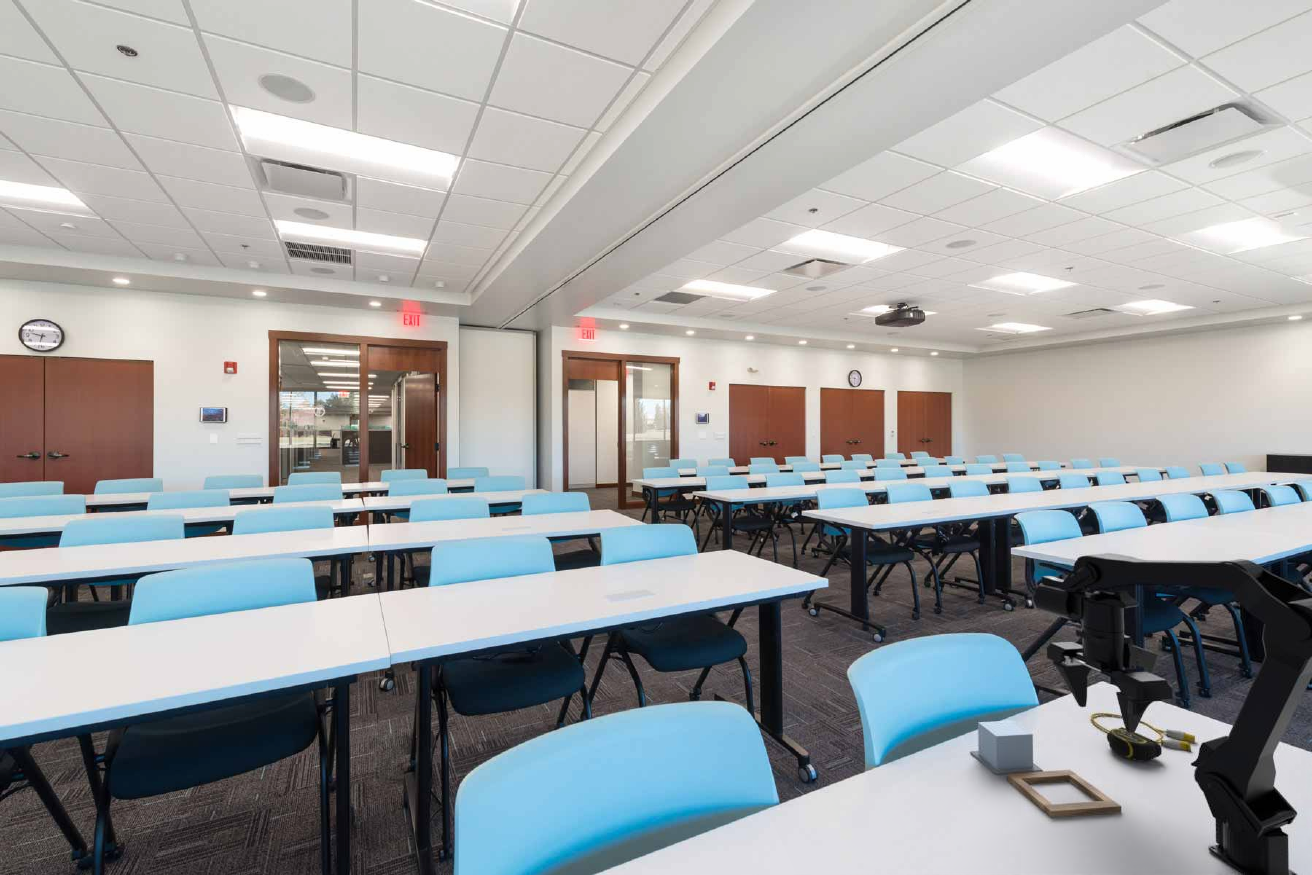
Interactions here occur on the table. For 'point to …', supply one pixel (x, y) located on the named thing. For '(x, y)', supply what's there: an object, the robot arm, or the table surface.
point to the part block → (1005, 744)
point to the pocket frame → (1068, 809)
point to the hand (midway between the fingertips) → (1105, 718)
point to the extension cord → (1171, 733)
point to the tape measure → (1133, 745)
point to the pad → (1004, 771)
